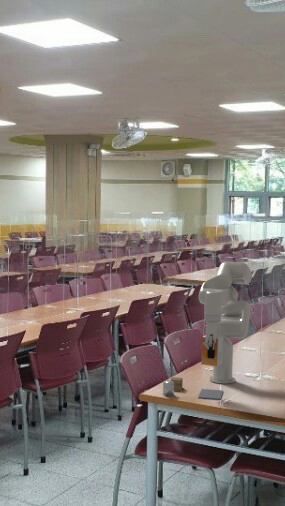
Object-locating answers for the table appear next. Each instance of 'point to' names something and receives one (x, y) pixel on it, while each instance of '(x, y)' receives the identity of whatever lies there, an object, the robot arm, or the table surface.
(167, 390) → the grey metal cylinder
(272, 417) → the table surface
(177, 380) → the walnut block
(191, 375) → the table surface
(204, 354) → the small box
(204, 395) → the slate mat
